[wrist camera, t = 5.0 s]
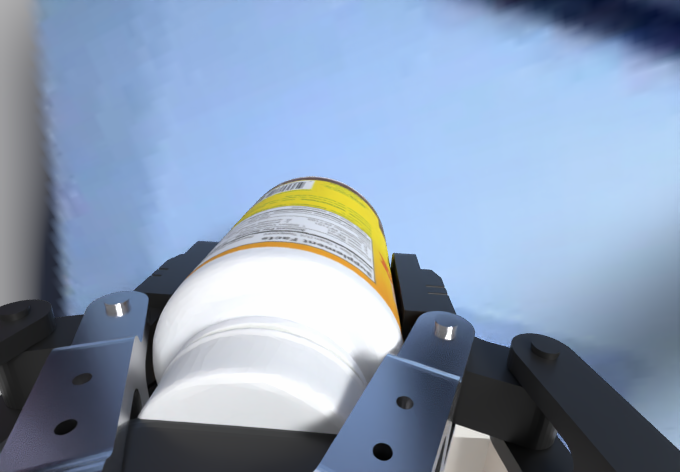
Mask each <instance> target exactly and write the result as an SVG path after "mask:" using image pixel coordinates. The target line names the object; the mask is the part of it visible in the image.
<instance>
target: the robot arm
mask: <svg viewBox="0 0 680 472" xmlns="http://www.w3.org/2000/svg"><path fill="white" fill-rule="evenodd" d="M218 243H219V242H208V241H198V242H197V243H195V244H194V245H193V246H192V247H191V248H190V249H189V250H188V251H187V252H186V253H185V254H180V255H178V256H176V257H174V258H171V259H169V260H167V261H166V262H165V263H164V264H163V265H162V266H161V267H160V268H159V270H158V269H157V270H156V271H155V272H154V273H153V274H152V276H149V277H148V278H147V279H146V280H145V281H144V282H143V283H142V284H140V285H139V286H138V287H137V288H136V289H135V290H134V291H122V292H116V293H112V294H108V295H105V296H103V297H100V298H98V299H96V300H95V301H93V302H92V303H91V304H90V305H89V306H88V307H87V309H86V311H85V313H84V315H75V316H66V317H57V318H54V314H53V310H52V306H51V304H50V303H49V302H47V301H43V300H24V301H18V302H13V303H10V304H6V305H3V306H1V307H0V391H1V393H2V395H0V472H444V469H445V465H446V462H447V458H448V454H449V450H450V447H451V443H452V439H453V435H454V432H455V428H456V424H457V425H460V426H463V427H466V428H469V429H471V430H474V431H477V432H480V433H483V434H486V435H489V436H490V440H491V442H492V444H493V446H494V448H495V450H496V451H497V453H498V455H499V457H500V458H501V460H502V462H503V464H504V465H505V467H506V469H507V471H508V472H680V450H678V449H677V448H676V447H675V446H674V445H673V444H672V443H671V442H670V441H669V440H668V439H667V438H666V437H665V436H664V435H662V434H661V433H660V432H659V431H658V430H657V429H656V428H655V427H654V426H653V425H652V424H651V423H650V422H649V421H647V420H646V419H645V418H644V417H643V416H642V415H641V414H640V413H639V412H638V411H637V410H636V409H635V408H634V407H632V406H631V405H630V404H629V403H628V402H627V401H626V400H625V399H624V398H623V397H622V396H621V395H620V394H619V393H617V392H616V391H615V390H614V389H613V388H612V387H611V386H610V385H609V384H608V383H607V382H606V381H605V380H604V379H602V378H601V377H600V376H599V375H598V374H597V373H596V372H595V371H594V370H593V369H592V368H591V367H590V366H589V365H587V364H586V363H585V362H584V361H583V360H582V359H581V358H580V357H579V356H578V355H577V354H576V353H575V352H574V351H573V350H571V349H570V348H569V347H568V346H566V345H565V344H563V343H561V342H559V341H557V340H555V339H553V338H550V337H547V336H544V335H539V334H532V333H526V334H520V335H517V336H515V337H514V338H513V339H512V342H511V346H510V348H509V347H505V346H501V345H497V344H494V343H490V342H487V341H484V340H481V339H479V338H477V337H475V330H474V328H473V326H472V325H471V323H469V322H468V321H467V320H466V319H464V318H462V317H461V316H458V315H456V313H455V310H454V308H453V306H452V303H451V301H450V298H449V296H448V295H447V291H446V289H445V288H444V284H443V282H442V279H441V277H439V276H438V275H437V274H436V273H435V272H433V271H432V270H425V269H420V266H419V263H418V260H417V257H416V255H415V254H401V253H393V255H392V261H391V274H392V281H393V286H394V292H395V297H396V303H397V308H398V314H399V320H400V326H401V331H402V336H403V343H404V344H403V345H402V347H401V349H400V351H399V353H398V354H397V355H394V354H392V353H388V354H387V355H386V356H385V358H384V359H383V361H382V362H381V364H380V366H379V367H378V369H377V371H376V372H375V374H374V376H373V377H372V379H371V380H370V382H369V384H368V385H367V387H366V389H365V390H364V392H363V394H362V395H361V397H360V398H359V400H358V402H357V403H356V405H355V407H354V408H353V410H352V412H351V413H350V415H349V416H348V418H347V420H346V421H345V423H344V425H343V426H342V428H341V430H340V431H339V433H338V434H328V433H317V432H306V431H294V430H282V429H271V428H258V427H246V426H233V425H219V424H206V423H193V422H178V421H165V420H150V419H139V418H137V417H138V415H139V414H140V412H141V410H142V408H143V407H144V405H145V404H146V402H147V401H148V400H149V398H150V397H151V395H152V394H153V392H154V391H155V389H156V388H157V386H158V384H157V381H156V378H155V374H154V368H153V338H154V334H155V330H156V326H157V323H158V320H159V318H160V315H161V313H162V311H163V309H164V307H165V306H166V304H167V302H168V301H169V299H170V298H171V296H172V295H173V294H174V292H175V291H176V290H177V288H178V287H179V286H180V285H181V284H182V282H183V281H184V280H185V279H186V278H187V277H188V276H189V275H190V274H191V273H192V272H193V270H194V269H195V268H196V267H197V266H198V265H199V264H200V263H201V261H202V260H203V259H205V257H206V256H207V255H208V254H209V253H210V252H211V251H212V250H213V249H214V248H215V246H216V245H217V244H218ZM557 432H558V433H559V434H560V435H561V437H562V438H563V439H564V441H565V442H566V444H567V445H568V447H569V449H570V452H571V453H570V452H569V451H568V449H567V448H566V447H565V445H564V444H563V443H562V442H561V440H560V439H559V438H558V436H557ZM571 454H572V455H571Z"/></svg>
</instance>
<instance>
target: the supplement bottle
mask: <svg viewBox="0 0 680 472" xmlns="http://www.w3.org/2000/svg"><path fill="white" fill-rule="evenodd" d="M403 344H404V343H403V336H402V331H401V326H400V320H399V314H398V308H397V303H396V297H395V292H394V286H393V281H392V274H391V268H390V263H389V258H388V251H387V245H386V239H385V235H384V231H383V227H382V224H381V221H380V219H379V217H378V215H377V213H376V211H375V210H374V208H373V207H372V205H371V204H370V203H369V202H368V201H367V200H366V199H365V198H364V197H363V196H362V195H361V194H360V193H359V192H357V191H356V190H355V189H353V188H351V187H350V186H348V185H346V184H344V183H342V182H339V181H337V180H334V179H330V178H325V177H316V176H309V177H300V178H295V179H291V180H288V181H285V182H283V183H281V184H279V185H277V186H275V187H274V188H272V189H271V190H269V191H268V192H267V193H266V194H264V195H263V196H262V197H261V198H260V199H259V200H258V201H257V202H256V203H255V204H254V205H253V207H252V208H250V209H249V210H248V211H247V212H246V214H245V215H244V216H243V217H242V218H241V219H240V220H239V221H238V222H237V223H236V224H235V225H234V227H233V228H232V229H231V230H230V231H229V232H228V233H227V234H226V235H225V236H224V237H223V239H222V240H221V241H220V242H219V243H218V244H217V245H216V246H215V248H214V249H213V250H212V251H211V252H210V253H209V254H208V255H207V256H206V257H205V259H203V260H202V261H201V263H200V264H199V265H198V266H197V267H196V268H195V269H194V270H193V272H192V273H191V274H190V275H189V276H188V277H187V278H186V279H185V280H184V281H183V282H182V284H181V285H180V286H179V287H178V288H177V290H176V291H175V292H174V294H173V295H172V296H171V298H170V299H169V301H168V302H167V304H166V306H165V307H164V309H163V311H162V313H161V315H160V318H159V320H158V323H157V326H156V330H155V334H154V338H153V368H154V374H155V378H156V381H157V384H158V386H157V388H156V389H155V391H154V392H153V394H152V395H151V397H150V398H149V400H148V401H147V402H146V404H145V405H144V407H143V408H142V410H141V412H140V414H139V415H138V417H137V418H139V419H150V420H165V421H178V422H193V423H206V424H219V425H233V426H246V427H258V428H271V429H282V430H294V431H306V432H317V433H328V434H338V433H339V431H340V430H341V428H342V426H343V425H344V423H345V421H346V420H347V418H348V416H349V415H350V413H351V412H352V410H353V408H354V407H355V405H356V403H357V402H358V400H359V398H360V397H361V395H362V394H363V392H364V390H365V389H366V387H367V385H368V384H369V382H370V380H371V379H372V377H373V376H374V374H375V372H376V371H377V369H378V367H379V366H380V364H381V362H382V361H383V359H384V358H385V356H386V355H387V354H388V353H392V354H394V355H397V354H398V353H399V351H400V349H401V347H402V345H403Z"/></svg>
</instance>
